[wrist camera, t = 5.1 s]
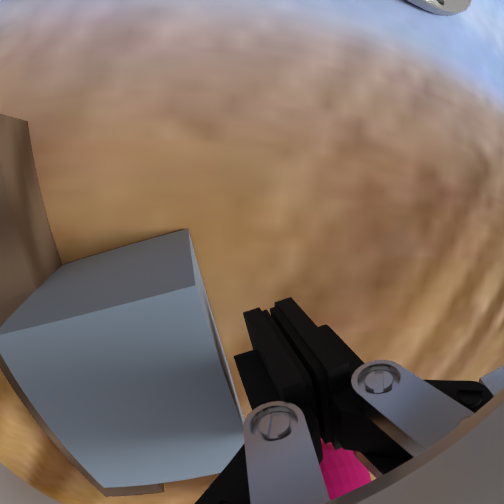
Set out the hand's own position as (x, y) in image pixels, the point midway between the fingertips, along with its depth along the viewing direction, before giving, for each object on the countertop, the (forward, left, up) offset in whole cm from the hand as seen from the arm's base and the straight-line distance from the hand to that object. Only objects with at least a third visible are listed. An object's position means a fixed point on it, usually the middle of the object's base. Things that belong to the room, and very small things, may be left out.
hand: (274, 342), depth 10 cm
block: (0, -5, -4) cm, 6 cm away
